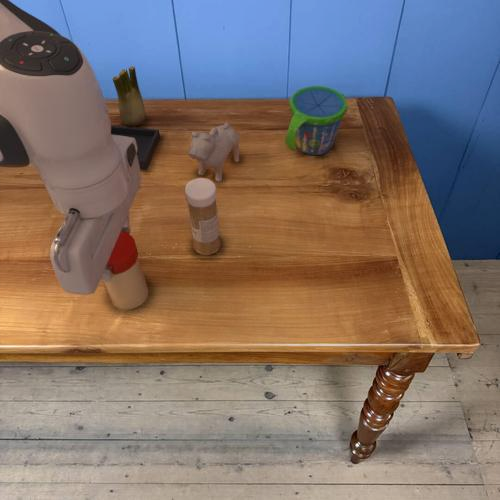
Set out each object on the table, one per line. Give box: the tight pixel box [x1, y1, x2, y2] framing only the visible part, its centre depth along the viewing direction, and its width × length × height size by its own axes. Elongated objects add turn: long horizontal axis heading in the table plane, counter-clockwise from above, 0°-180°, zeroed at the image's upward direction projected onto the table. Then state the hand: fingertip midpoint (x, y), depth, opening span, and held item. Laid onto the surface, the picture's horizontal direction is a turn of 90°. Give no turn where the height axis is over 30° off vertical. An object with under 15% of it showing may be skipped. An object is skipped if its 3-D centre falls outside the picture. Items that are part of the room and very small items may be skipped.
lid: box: [107, 231, 139, 274], centre depth 63 cm, size 6×6×2 cm
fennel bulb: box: [112, 65, 147, 128], centre depth 93 cm, size 6×5×12 cm
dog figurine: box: [187, 122, 240, 182], centre depth 84 cm, size 5×13×11 cm, turn 151°
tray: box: [111, 124, 162, 171], centre depth 92 cm, size 17×10×2 cm, turn 82°
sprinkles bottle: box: [184, 177, 221, 256], centre depth 71 cm, size 5×5×14 cm
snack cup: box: [284, 85, 349, 156], centre depth 89 cm, size 16×10×10 cm
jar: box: [101, 257, 149, 311], centre depth 67 cm, size 6×6×11 cm
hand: (116, 255), depth 64 cm, fingers closed on lid, 6 cm apart
